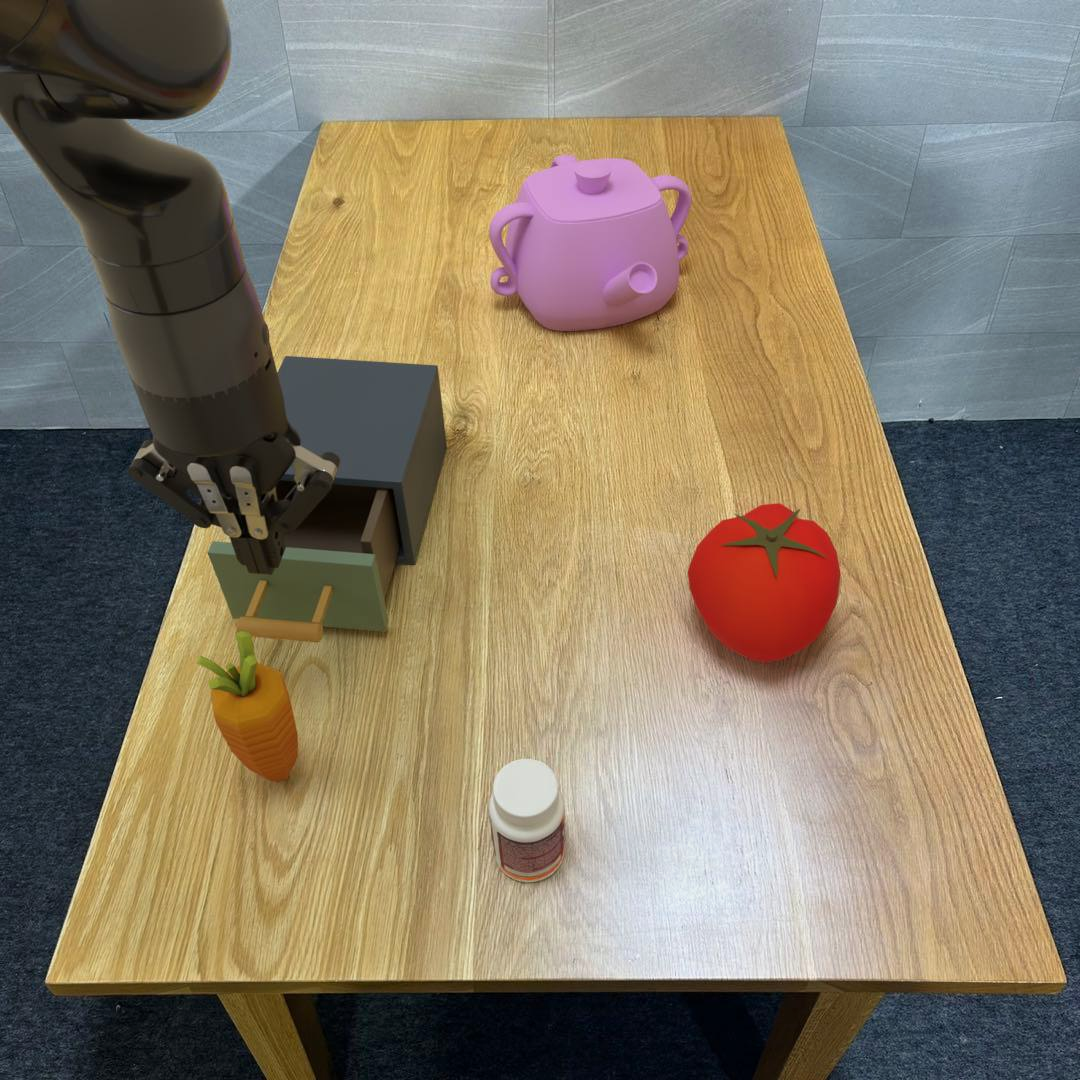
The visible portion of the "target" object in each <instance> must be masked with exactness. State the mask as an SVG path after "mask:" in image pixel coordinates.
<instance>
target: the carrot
mask: <svg viewBox="0 0 1080 1080" xmlns="http://www.w3.org/2000/svg"><path fill="white" fill-rule="evenodd" d="M235 637H236V638H235V639H236V644H237V647H238V653H239V666H235V665H234V664H233V662H229V663H227V664H226V665H225V668H223V667H221V666H220V665H219V664H218V663H216V662H215V661H213V660H211V659H209V658H207V657H205V656H203V655H199V657H198V658H197V664H198V665H199V666H201V667H203V668H204V669H207V670H209V671H211V672H212V673H214V675H217V677H213V678H211V679H209V680H208V686H209V688H210V696H211V704H212V710H213V718H214V721H215V724H216V725H217V727H218V729H219V732H220V734H221V736H222V737H223V739H224V740H225V742H226V745H227V746H228V748H229V750H230V751H231V752H232V754H233V755H234V756H235V757H236V759H238V761H239V762H240V763H241V764H243V765H244V766H245V767H246V769H248V771H250V772H252V773H254V774H256V775H257V776H259V777H261V778H264V779H266V780H268V781H270V782H271V783H272V782H273V783H281V782H285V781H286V780H287V778H288V777H289V776H290V774H291V772H292V771H293V770H294V767H295V766H296V763H297V759H298V756H299V738H298V737H299V736H298V728H297V724H296V719H295V715H294V710H293V706H292V701H291V698H290V694H289V693H290V692H289V690H288V687H287V683H286V680H285V677H284V674H282V673H281V672H280V671H279V670H277V669H274V668H272V667H270V666H268V665H265V664H262V663H260V662H259V661H258V659H257V657H256V656H255V655H256V654H255V648H254V643H253V637H251V635H250V633H249V632H244V631H240V632H238V633H237V632H236V633H235ZM225 669H226V670H225Z"/></svg>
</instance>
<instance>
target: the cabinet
mask: <svg viewBox="0 0 1080 1080" xmlns="http://www.w3.org/2000/svg"><path fill="white" fill-rule="evenodd" d="M277 374H278V377H279V381H280V385H281V389H282V393H283V397H284V403H285V411H286V417H287V420H288V421H289V423H290V424H291V426H292V427H293V428H294V429H295V430H296V431H297V432H298V434H299V436H300V440H301V445H300V446H302V447H304V448H305V449H307V450H309V451H310V452H312V453H314V454H315V455H317V456H319V457H320V456H321V455H322V454H323V453H325V452H331V453H334V454H336V455H337V456H338V457H339V459H340V464H339V467H338V470H337V473H336V475H335V478H334V481H333V483H332V484H338V485H351V486H364V487H378V488H391V489H393V492H394V498H395V503H396V509H397V515H398V521H399V527H400V532H401V538H402V542H401V545H400V548H399V552H398V555H397V559H396V562H395V564H401V565H413V566H415V565H416V563H417V559H418V556H419V552H420V548H421V545H422V541H423V537H424V534H425V530H426V526H427V522H428V519H429V515H430V512H431V508H432V505H433V501H434V497H435V493H436V490H437V487H438V482H439V479H440V475H441V471H442V468H443V464H444V461H445V457H446V453H447V449H448V445H447V435H446V428H445V427H446V425H445V418H444V408H443V399H442V391H441V383H440V374H439V365H437V364H422V363H421V364H420V363H405V362H391V361H389V362H387V361H375V360H374V361H373V360H357V359H341V358H327V357H326V358H325V357H312V356H311V357H310V356H297V355H296V356H295V355H285V356H284V358H283V359H282V362H281V364H280V366H279V369H278V370H277ZM294 476H295V469H294V468H293V467H292V466H290V467H289V469H288V470H287V471H286V473H285V474H284V475H283V477H282V478H281V479H280V480H284V481H294Z"/></svg>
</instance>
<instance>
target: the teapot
mask: <svg viewBox="0 0 1080 1080" xmlns="http://www.w3.org/2000/svg"><path fill="white" fill-rule="evenodd" d="M667 190H668V191H669V190H671V191H676V192H677V193H678V197H677V201H676V204H675V207H674V210H673V211H672V214H671V215H670V214H669V211H668V208H667V207H668V206H667V205H666V202H665V200H664V198H663V195H662V193H661V192H663V191H667ZM692 200H693V199H692V192H691V189H690V187H689V185H688V184H686V182H684V181H683V180H682V179H680V178H679V177H677V176H674V175H670V174H661V175H657V176H653V177H651V178H650V177H649V176H648V174H646V173H645V171H644V170H643V169H642V168H641V167H640V166H638V164H637V163H635V162H634V161H632V160H630V159H626V158H616V157H615V158H600V159H599V158H597V159H596V158H595V159H585V160H580V161H579V160H578V159H577V157H576V156H574V155H572V154H561V155H558V156H556V157H554V159H552V161H551V163H550V167H548V168H545V169H542V170H539V171H536V172H534V173H532V174H530V175H529V176H528V177H526V178H525V179H524V181H523V183H522V185H521V186H520V190H519V192H518V195H517V197H516V200H515V202H512V203H510V204H507V205H504V206H503V207H501V209H500V210H498V211H497V212H496V213H495V214H494V216H493V217H492V218H491V221H490V222H489V228H488V236H489V240H490V244H491V247H492V249H493V251H494V253H495V255H496V257H497V258H498V260H499V262H500V264H501V265H502V266H501V267H497V268H495V269H494V270H493V271H492V272H491V274H490V278H489V279H490V280H489V284H490V287H491V290H492V291H493V292H494V293H495V294H496V295H499V296H502V297H511V296H514V295H516V294H517V295H518V297H519V298H520V300H521V302H522V303H523V304H524V306H525V307H526V309H527V311H528V312H529V313H530V314H531V316H533V318H534V320H536V322H537V323H538V324H539V325H541V326H542V327H544V328H546V329H548V330H552V331H557V332H558V331H559V332H579V331H590V330H598V329H606V328H611V327H616V326H620V325H625V324H627V323H628V324H629V323H630V322H635V321H637V320H640V319H642V318H646V317H647V316H650V315H652V314H654V313H656V312H659V311H660V310H661V309H663V308H664V307H665V306H666V305H667V303H668V302H669V301H670V300H671V298H672V296H673V295H674V294H675V292H676V291H677V288H678V285H679V283H680V262H681V261H682V260H683V259H685V258H686V257H687V255H688V254H689V248H690V247H689V246H690V245H689V241H688V238H687V237H686V236H685V235H684V234H682V233H681V231H682V229H683V227H684V225H685V224H686V221H687V219H688V217H689V213H690V211H691V207H692ZM507 225H508V226H507ZM506 226H507V231H506V239H505V240H506V241H505V244H504V240H503V237H502V236H503V235H502V232H503V230H504V229H505V227H506ZM503 277H508V279H507V280H506V281H503V282H501V281H500V280H501V279H502V278H503Z"/></svg>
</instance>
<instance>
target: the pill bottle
mask: <svg viewBox="0 0 1080 1080" xmlns="http://www.w3.org/2000/svg"><path fill="white" fill-rule="evenodd" d="M565 807H566V806H565V798H564V796H563V793H562V791H561V789H560V787H559V782H558V779H557V776H556V774H555V772H554V771H553V770H552V769H551V767H550V766H548V765H547V764H546V763H544V762H542V761H540V760H538V759H534V758H518V759H515V760H513V761H510V762H508V763H506V764H505V765H504V766H502V767H501V769H500V770H498V772H497V774H496V775H495V777H494V781H493V783H492V793H491V795H490V798H489V800H488V808H487V810H488V811H487V812H488V818H489V825H490V831H491V840H492V841H491V842H492V847H493V849H492V850H493V855H494V859H495V862H496V864H497V866H498V867H499V869H500V870H501V871H502V873H503V874H505V875H506V876H507V877H509V878H511V879H513V880H515V881H518V882H522V883H535V882H539V881H543V880H544V879H545V880H546V879H547V878H548V877H551V875H553V874H554V873H555V872H556V871H557V870H558V869H559V867H560V866H561V865H562V862H563V860H564V857H565V851H566V820H565V819H566V814H565V812H566V810H565Z"/></svg>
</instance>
